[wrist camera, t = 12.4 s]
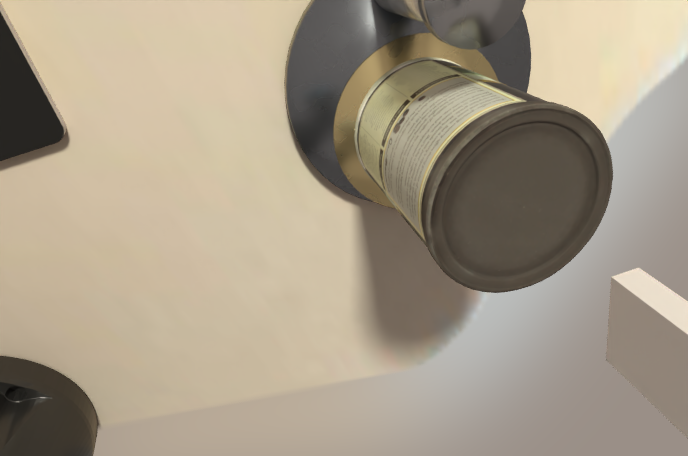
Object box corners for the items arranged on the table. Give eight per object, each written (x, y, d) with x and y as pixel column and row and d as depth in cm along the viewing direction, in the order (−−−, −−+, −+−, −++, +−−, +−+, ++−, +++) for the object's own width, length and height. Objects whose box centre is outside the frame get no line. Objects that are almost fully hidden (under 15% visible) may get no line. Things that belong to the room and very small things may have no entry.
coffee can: (494, 52, 39) (636, 99, 26) (477, 188, 43) (590, 281, 31) (353, 56, 36) (436, 110, 24) (350, 199, 41) (419, 305, 29)
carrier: (319, 232, 43) (360, 322, 33) (249, -32, 34) (276, -23, 23) (528, 167, 45) (629, 233, 35) (517, -98, 36) (652, -116, 25)
